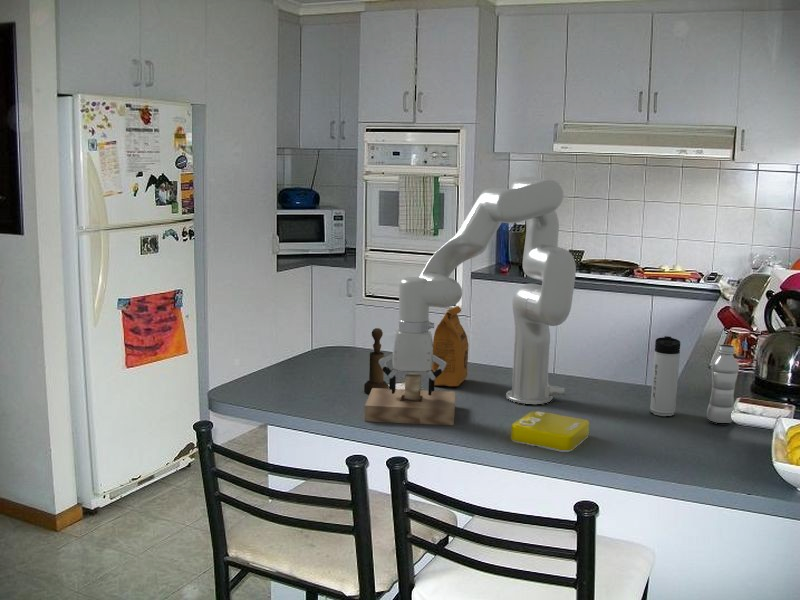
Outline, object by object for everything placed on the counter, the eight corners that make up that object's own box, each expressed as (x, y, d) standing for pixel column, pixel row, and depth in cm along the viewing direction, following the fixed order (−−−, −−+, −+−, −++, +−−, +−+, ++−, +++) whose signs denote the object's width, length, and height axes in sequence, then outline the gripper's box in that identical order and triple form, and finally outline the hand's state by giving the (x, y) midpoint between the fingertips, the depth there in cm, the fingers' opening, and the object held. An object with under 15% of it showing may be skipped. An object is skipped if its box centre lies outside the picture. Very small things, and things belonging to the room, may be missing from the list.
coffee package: (472, 380, 256) (475, 306, 252) (458, 390, 245) (461, 313, 241) (441, 376, 260) (443, 303, 256) (425, 386, 249) (428, 310, 245)
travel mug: (674, 411, 230) (680, 337, 226) (675, 418, 224) (681, 342, 220) (649, 408, 231) (655, 335, 228) (649, 416, 225) (655, 340, 222)
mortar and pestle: (389, 389, 244) (390, 326, 241) (386, 396, 238) (388, 331, 235) (365, 388, 245) (366, 325, 242) (362, 394, 238) (363, 330, 235)
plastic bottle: (700, 420, 222) (706, 344, 219) (721, 418, 225) (728, 342, 221) (717, 428, 216) (724, 349, 213) (739, 425, 219) (746, 348, 215)
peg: (420, 411, 225) (421, 373, 223) (419, 416, 220) (421, 377, 219) (404, 410, 225) (405, 372, 223) (403, 415, 221) (404, 376, 219)
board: (454, 406, 230) (455, 391, 229) (453, 425, 214) (454, 409, 213) (372, 402, 231) (372, 387, 231) (364, 421, 216) (364, 405, 215)
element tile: (568, 455, 196) (570, 435, 195) (507, 443, 203) (508, 423, 203) (590, 437, 208) (592, 418, 208) (532, 426, 216) (533, 407, 215)
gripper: (448, 325, 222) (446, 390, 225) (380, 322, 223) (379, 387, 226) (447, 331, 214) (445, 398, 217) (377, 328, 216) (376, 395, 219)
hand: (411, 393), depth 222 cm, fingers open, 9 cm apart
